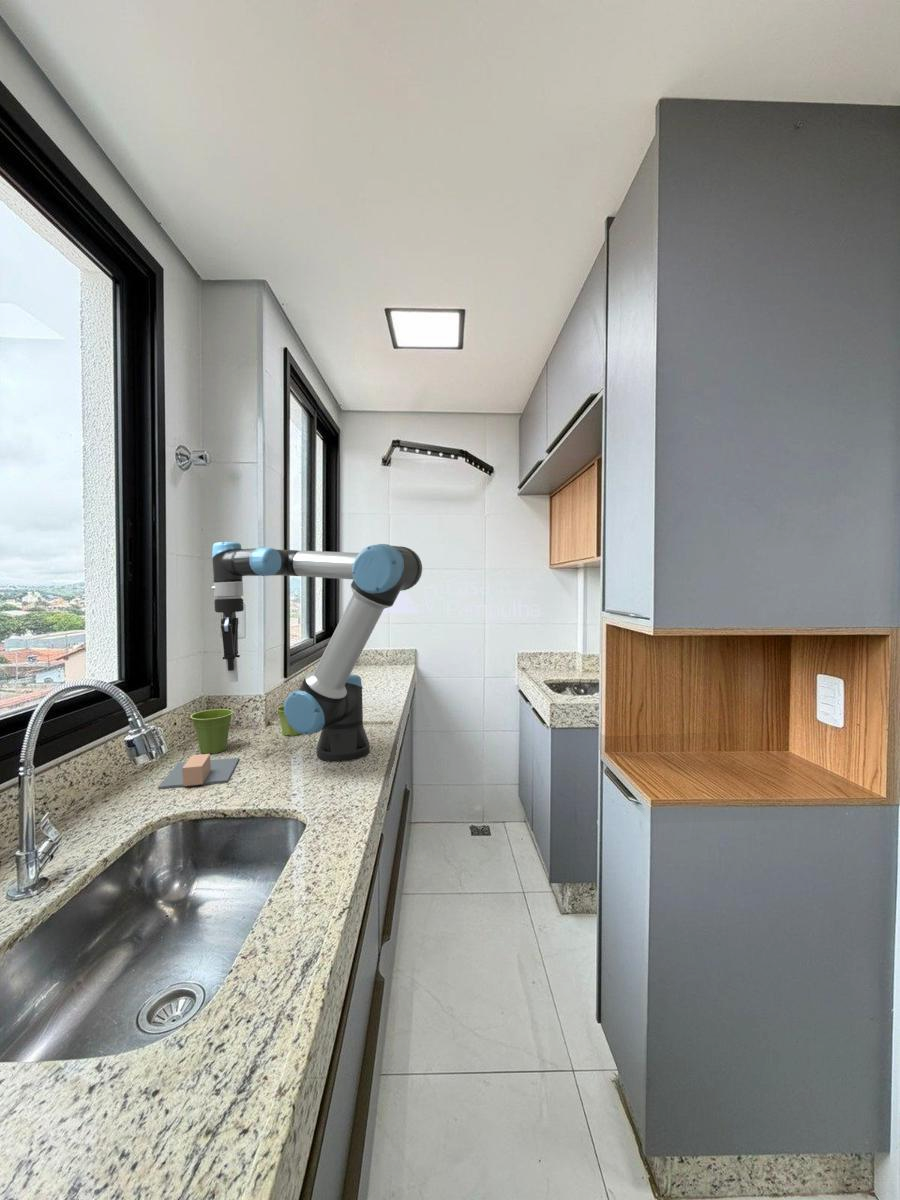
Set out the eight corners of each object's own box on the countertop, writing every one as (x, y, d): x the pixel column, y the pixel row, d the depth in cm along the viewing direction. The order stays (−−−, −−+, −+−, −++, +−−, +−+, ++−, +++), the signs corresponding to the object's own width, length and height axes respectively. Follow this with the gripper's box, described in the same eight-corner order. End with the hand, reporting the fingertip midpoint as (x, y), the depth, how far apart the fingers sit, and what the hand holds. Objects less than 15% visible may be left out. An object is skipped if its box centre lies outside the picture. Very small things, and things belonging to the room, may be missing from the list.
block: (210, 753, 145) (201, 766, 135) (210, 770, 145) (202, 784, 136) (191, 755, 144) (182, 768, 134) (192, 772, 144) (182, 786, 135)
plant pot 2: (299, 728, 187) (298, 702, 187) (312, 733, 180) (311, 707, 180) (273, 733, 181) (272, 707, 181) (284, 739, 174) (283, 712, 174)
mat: (239, 759, 156) (239, 757, 155) (227, 782, 138) (227, 780, 138) (178, 765, 152) (178, 762, 152) (158, 789, 135) (158, 786, 135)
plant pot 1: (182, 756, 160) (181, 718, 159) (207, 744, 171) (206, 708, 171) (219, 757, 157) (218, 719, 157) (242, 745, 169) (241, 709, 169)
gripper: (219, 597, 159) (222, 678, 160) (209, 599, 146) (213, 686, 147) (246, 596, 161) (249, 676, 162) (239, 598, 148) (242, 684, 149)
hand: (232, 681), depth 154 cm, fingers closed
